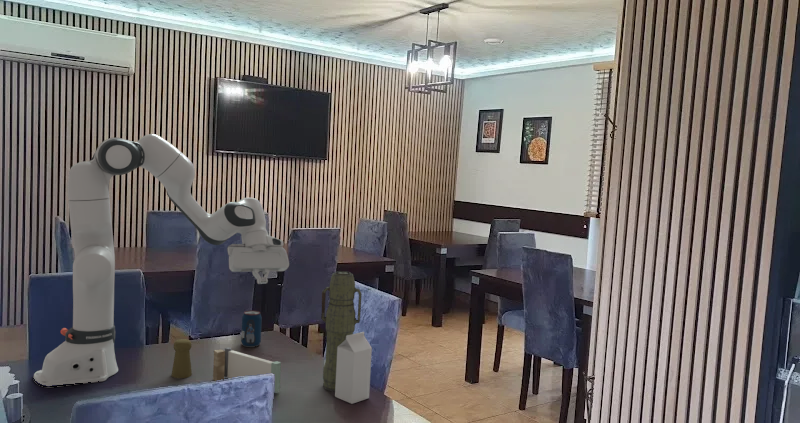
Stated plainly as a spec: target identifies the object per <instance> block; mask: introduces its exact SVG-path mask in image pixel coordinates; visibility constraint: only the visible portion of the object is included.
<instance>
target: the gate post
mask: <svg viewBox="0 0 800 423" xmlns="http://www.w3.org/2000/svg"><path fill="white" fill-rule="evenodd" d="M224 367H225V349H224V350H223V349H214V350H213V370H212V380H213V381H215V382H216V380H221V379H224V380H225V377H224Z"/></svg>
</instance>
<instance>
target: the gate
mask: <svg viewBox="0 0 800 423" xmlns="http://www.w3.org/2000/svg"><path fill="white" fill-rule="evenodd" d="M224 351H225V367H224V378H228V379H232V377H237V376H245V375H257V374H266V373H273V374H275V392H274V393H277V392H280V391H281V374H282V373H281V371H282V370H281V368H282V362H281V361H278V360H276V361H271V360H268V359H264V358H261V357H257V356H254V355H250V354H246V353H243V352H240V351H236V350H232V347H224Z"/></svg>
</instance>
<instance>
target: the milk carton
mask: <svg viewBox="0 0 800 423" xmlns="http://www.w3.org/2000/svg"><path fill="white" fill-rule="evenodd" d="M372 352H373V348H372V346H371V344H370V343H369V341H368V340H367V338H366V336H365V331H361V332H357V333H356V332H355V333H353V334H352V335H347V336H346V340H345V341H344V342H342V343H341V344H340V345H339V346H338V347H337V365H336V385H335V391H334V397H335V398H337V399H339V400H342V401H344V402H346V403H349V404H351V405H353V404H355V403H358V402H361V401H365V400H367V399H369V398H370V388H371V370H372V369H371V367H372Z"/></svg>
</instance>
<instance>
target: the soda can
mask: <svg viewBox="0 0 800 423" xmlns="http://www.w3.org/2000/svg"><path fill="white" fill-rule="evenodd" d="M262 319H263V318H262V314H261V312H260V310H254V309H253V310H250V309H249V310H245V311H244V312H243V315H242V317H241V334H240V335H241V336H240V342H241V343H242V347H243V346H244V347H247V348H256V347H258V346H259V345H260V344H261V341H262ZM255 346H256V347H255Z"/></svg>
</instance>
